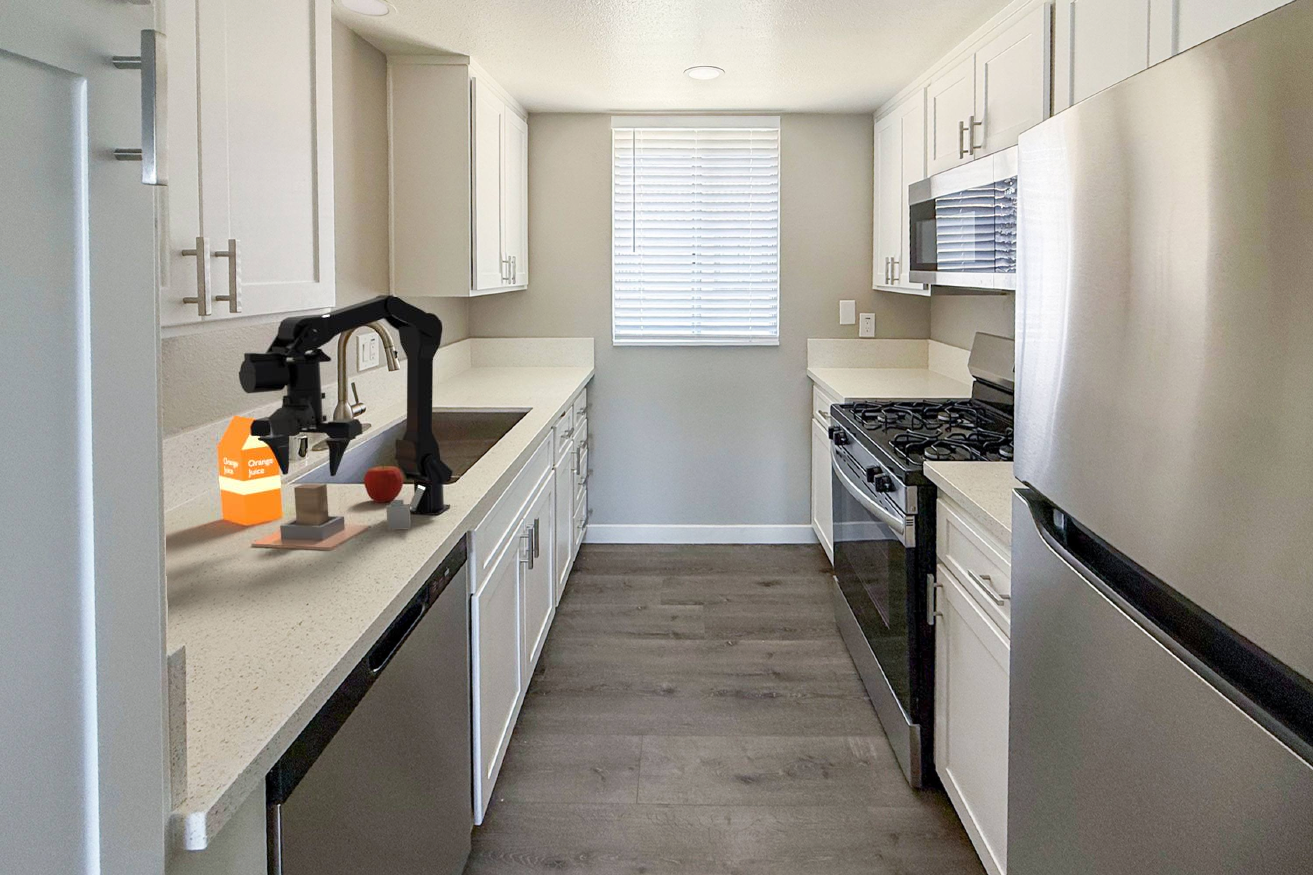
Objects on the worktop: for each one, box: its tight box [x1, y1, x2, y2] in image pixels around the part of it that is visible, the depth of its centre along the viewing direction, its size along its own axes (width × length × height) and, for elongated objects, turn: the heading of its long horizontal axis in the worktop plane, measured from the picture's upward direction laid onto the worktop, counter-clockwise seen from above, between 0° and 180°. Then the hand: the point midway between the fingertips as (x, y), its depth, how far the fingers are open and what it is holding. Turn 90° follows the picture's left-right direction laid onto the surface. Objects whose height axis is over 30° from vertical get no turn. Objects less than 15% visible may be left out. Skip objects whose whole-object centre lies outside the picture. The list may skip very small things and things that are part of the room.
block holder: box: [251, 515, 372, 551], centre depth 170 cm, size 15×15×3 cm
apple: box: [363, 464, 404, 503], centre depth 198 cm, size 8×8×8 cm
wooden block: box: [293, 482, 330, 526], centre depth 170 cm, size 4×4×9 cm
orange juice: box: [216, 415, 283, 526], centre depth 183 cm, size 8×9×20 cm
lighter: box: [385, 485, 425, 530], centre depth 176 cm, size 7×2×8 cm, turn 99°
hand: (309, 475), depth 169 cm, fingers open, 9 cm apart
